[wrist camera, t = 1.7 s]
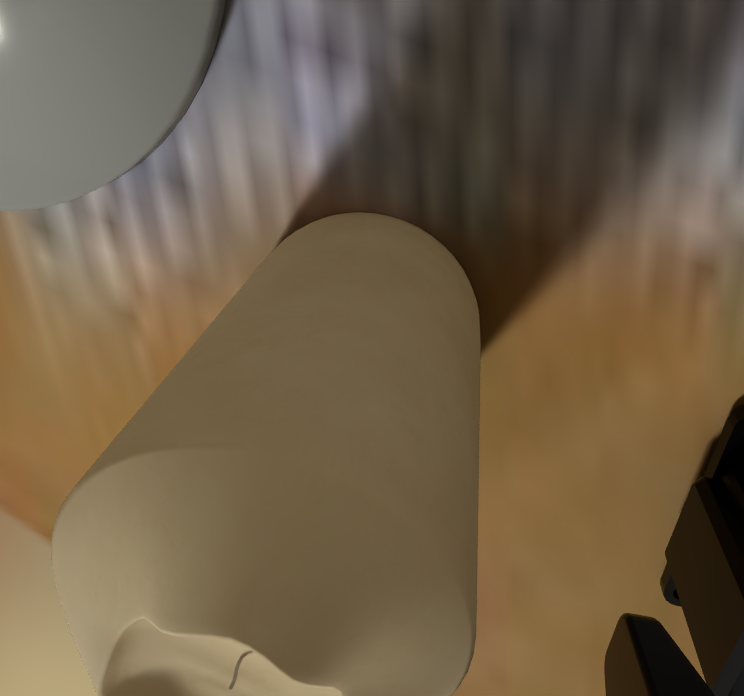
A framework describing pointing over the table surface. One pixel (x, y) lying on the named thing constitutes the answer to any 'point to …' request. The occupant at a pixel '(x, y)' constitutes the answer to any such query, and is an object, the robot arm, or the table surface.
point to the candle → (294, 487)
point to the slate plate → (93, 89)
